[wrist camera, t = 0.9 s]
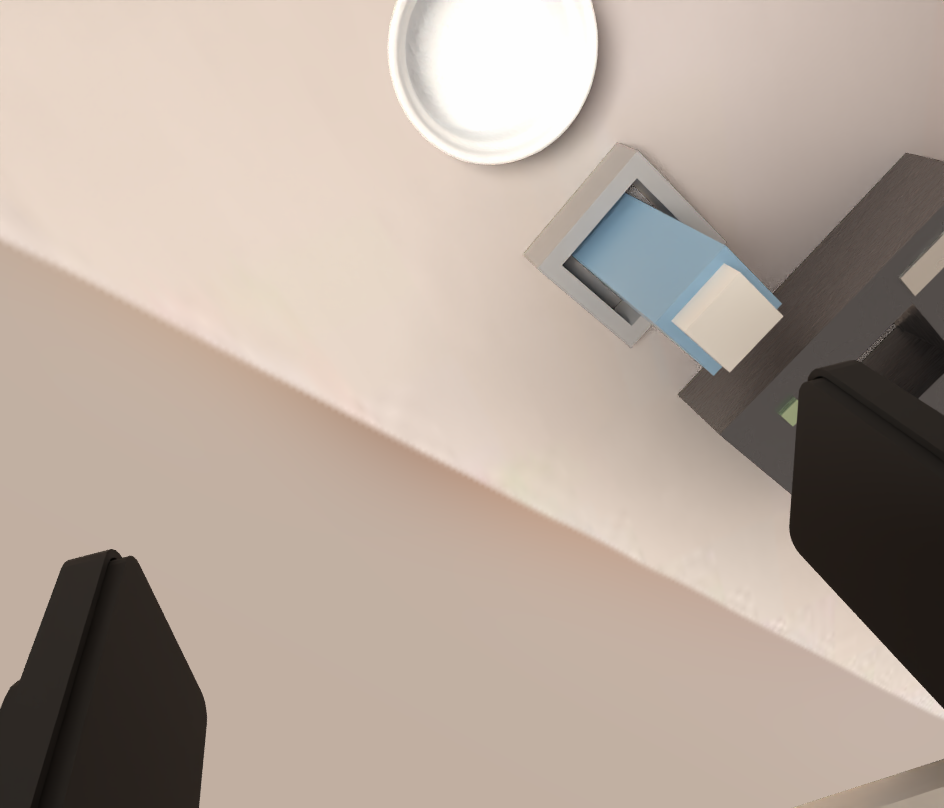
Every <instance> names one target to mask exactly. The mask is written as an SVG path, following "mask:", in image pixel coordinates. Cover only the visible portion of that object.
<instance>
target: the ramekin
mask: <svg viewBox="0 0 944 808" xmlns="http://www.w3.org/2000/svg"><path fill="white" fill-rule="evenodd" d="M388 32H389V35H388V41H387V43H388V64H389V70H390V76H391V80H392V84H393V87H394V90H395V93H396V96H397V99H398V101H399V103H400V105H401V107H402V109H403V111H404V113H405V115H406V116H407V118H408V119H409V121H410V122H411V123H412V125H413V126H414V127H415V128H416V130H417V131H418V132H419V133H420V134H421V135H422V136H423V137H424V138H425V139H426V140H427V141H428V142H429V143H431V144H432V145H433V146H435V147H436V148H437V149H439V150H441V151H442V152H444V153H446V154H448V155H450V156H452V157H454V158H456V159H459V160H462V161H465V162H469V163H474V164H480V165H498V164H505V163H512V162H515V161H518V160H522V159H524V158H527V157H529V156H531V155H534V154H535V153H538V152H539V151H541V150H543V149H544V148H546V147H547V146H549V145H550V144H551V143H552V142H554V141H555V140H556V139H557V138H559V137H560V136H561V135H562V134H563V133H564V132H565V131H566V130H567V129H568V127H569V126H570V125H571V123H572V122H573V121H574V120H575V118H576V117H577V115H578V114H579V112H580V110H581V108H582V107H583V105H584V103H585V101H586V99H587V96H588V94H589V92H590V89H591V86H592V82H593V79H594V75H595V70H596V65H597V57H598V29H597V22H596V17H595V12H594V8H593V4H592V0H397V1H396V3H395V7H394V10H393V13H392V16H391V21H390V25H389V30H388Z"/></svg>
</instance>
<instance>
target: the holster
mask: <svg viewBox="0 0 944 808" xmlns="http://www.w3.org/2000/svg"><path fill="white" fill-rule="evenodd" d="M631 184H633V185H634V186H635V187H636V188H637V189H638V190H639V191H640V192H641V193H642V194H643V195H644V196H645V197H646V198H647V199H648V200H649V201H650V202H651V203H652V204H653V205H654V206H655V207H656V208H657V209H658V210H659V211H661V212H663V213H664V214H666V215H668V216H670V217H672V218H674V219H676V220H678V221H680V222H682V223H684V224H685V225H687V226H689V227H691V228H693V229H695V230H697V231H699V232H701V233H703V234H704V235H706V236H708V237H710V238H712V239H714V240H716V241H718V242H720V243H722V244H724V245H725V244H726V243H727V242H726V241H725V240H724V239H723V238H722V237H721V236H720V235H719V234H718V233H717V232H716V231H715V230H714V228H713V227H712V226H711V225H710V224H709V223H708V222H707V221H706V220H705V219H704V218H703V217H702V216H701V215H700V214H699V213H698V212H697V211H696V210H695V209H694V208H693V207H692V206H691V205H690V204H689V203H688V202H687V201H686V200H685V199H684V197H683V196H682V195H681V194H680V193H679V192H678V191H677V190H676V189H675V188H674V187H673V186H672V185H671V184H670V183H669V182H668V181H667V180H666V179H665V178H664V177H663V176H662V175H661V174H660V173H659V172H658V171H657V170H656V169H655V168H654V167H653V165H652V164H651V163H650V162H649V161H648V160H647V159H646V158H645V157H644V156H643V155H642V154H641V153H640V152H639V151H638V150H635V149H633V148H630V147H628V146H625V145H623V144H620V143H618V142H617V143H616V145H615V146H614V147H613V148H612V149H611V151H610V152H609V153H608V154H607V155H606V156H605V158H604V159H603V160H602V161H601V162H600V164H599V165H598V166H597V167H596V168H595V170H594V171H593V172H592V173H591V174H590V175H589V177H588V178H587V179H586V180H585V181H584V183H583V184H582V185H581V186H580V187H579V189H578V190H577V191H576V192H575V193H574V194H573V196H572V197H571V198H570V199H569V200H568V202H567V203H566V204H565V205H564V206H563V208H562V209H561V210H560V211H559V212H558V213H557V215H556V216H555V217H554V218H553V219H552V221H551V222H550V223H549V224H548V225H547V227H546V228H545V229H544V230H543V231H542V232H541V234H540V235H539V236H538V237H537V238H536V240H535V241H534V242H533V243H532V244H531V246H530V247H529V248H528V249H527V250H526V251H525V253H524V254H523V255H524V256H525V257H526V258H527V259H528V260H529V261H530V262H531V263H532V264H533V265H534V266H535V267H536V268H537V269H538V270H539V271H540V272H542V273H543V274H544V275H545V276H546V277H547V278H549V279H550V280H551V281H552V282H553V283H555V284H556V285H557V286H558V287H559V288H560V289H562V290H563V291H564V292H565V293H566V294H568V295H569V296H570V297H571V298H572V299H574V300H575V301H576V302H577V303H578V304H579V305H581V306H582V307H583V308H584V309H585V310H587V311H588V312H589V313H590V314H591V315H592V316H594V317H595V318H596V319H597V320H598V321H600V322H601V323H602V324H603V325H604V326H605V327H607V328H608V329H609V330H610V331H611V332H613V333H614V334H615V335H616V336H617V337H618V338H620V339H621V340H622V341H623V342H624V343H626V344H627V345H628V346H629V347H630V348H632V346H633V345H634V344H635V343H636V342H637V341H638V340H639V339H640V338H641V337H642V335H643V334H644V333H645V332H646V331H647V330H648V329H649V328H650V327H651V326H652V324H651V323H650V322H648V321H647V320H646V319H645V318H644V317H642V316H641V315H640V314H639V313H638V312H636V311H635V310H634V309H633V308H632V307H630V306H629V305H628V304H627V303H626V302H624V301H623V300H622V301H621V302H620V303H619V304H618V305H617V306H616V307H615V309H614V310H613V309H612V308H611V307H610V306H609V305H607V304H606V303H605V302H604V301H603V300H602V299H600V298H599V297H598V296H597V295H596V294H595V293H594V292H592V291H591V290H590V289H589V288H588V287H587V286H585V285H584V284H583V283H582V282H581V281H580V280H579V279H577V278H576V277H575V276H574V275H573V274H572V273H570V272H569V271H568V270H567V269H566V268H565V267H564V266H562V265H563V264H564V262H565V261H566V260H567V259H568V258H569V257H570V255H571V254H572V253H573V252H574V251H575V250H576V248H577V247H578V246H579V245H580V244H581V243H582V241H583V240H584V239H585V238H586V237H587V236H588V234H589V233H590V232H591V231H592V230H593V229H594V228H595V226H596V225H597V224H598V223H599V222H600V221H601V219H602V218H603V217H604V216H605V215H606V214H607V212H608V211H609V210H610V209H611V208H612V207H613V205H614V204H615V203H616V202H617V201H618V200H619V198H620V197H621V196H622V195H623V194H624V193H625V191H626V190H627V189H628V188H629V187H630V186H631Z"/></svg>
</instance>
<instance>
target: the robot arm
mask: <svg viewBox="0 0 944 808" xmlns="http://www.w3.org/2000/svg"><path fill="white" fill-rule="evenodd" d="M789 529H790V536H791V539H792V542H793V544H794V546H795V548H796V550H797V551H798V552H799V554H800V555H801V556H802V557H803V558H804V559H805V560H806V561H807V562H808V563H809V564H810V565H811V567H812V568H813V569H814V570H815V571H816V572H817V573H818V574H819V575H820V576H821V577H822V578H823V579H824V581H825V582H826V583H827V584H828V585H829V586H830V587H831V588H832V589H833V590H834V591H835V592H836V593H837V595H838V596H839V597H840V598H841V599H842V600H843V601H844V602H845V603H846V604H847V605H848V606H849V607H850V609H851V610H852V611H853V612H854V613H855V614H856V615H857V616H858V617H859V618H860V619H861V620H862V621H863V622H864V624H865V625H866V626H867V627H868V628H869V629H870V630H871V631H872V632H873V633H874V634H875V635H876V636H877V638H878V639H879V640H880V641H881V642H882V643H883V644H884V645H885V646H886V647H887V648H888V649H889V650H890V652H891V653H892V654H893V655H894V656H895V657H896V658H897V659H898V660H899V661H900V662H901V663H902V664H903V666H904V667H905V668H906V669H907V670H908V671H909V672H910V673H911V674H912V675H913V676H914V677H915V678H916V680H917V681H918V682H919V683H920V684H921V685H922V686H923V687H924V688H925V689H926V690H927V691H928V692H929V694H930V695H931V696H932V697H933V698H934V699H935V700H936V701H937V702H938V703H939V704H940V705H941V706H942V708H943V709H944V415H943V414H941V413H940V412H938V411H937V410H935V409H933V408H932V407H930V406H929V405H927V404H926V403H924V402H922V401H921V400H919V399H918V398H916V397H915V396H913V395H911V394H910V393H908V392H907V391H905V390H904V389H902V388H900V387H899V386H897V385H896V384H894V383H893V382H891V381H889V380H888V379H886V378H885V377H883V376H882V375H880V374H878V373H877V372H875V371H874V370H872V369H871V368H869V367H867V366H866V365H864V364H863V363H861V362H859V361H856V360H848V361H844V362H840V363H837V364H833V365H829V366H825V367H821V368H817V369H815V370H813V371H812V372H811V373H810V375H809V377H808V380H807V382H804V383H803V384H802V385H801V387H800V389H799V396H798V410H797V424H796V439H795V453H794V467H793V482H792V496H791V510H790V525H789ZM206 726H207V713H206V705H205V701H204V697H203V695H202V692H201V690H200V688H199V686H198V684H197V682H196V680H195V678H194V676H193V674H192V672H191V670H190V668H189V665H188V663H187V661H186V659H185V657H184V655H183V653H182V651H181V649H180V647H179V645H178V643H177V641H176V639H175V637H174V635H173V632H172V630H171V628H170V626H169V624H168V622H167V620H166V618H165V616H164V614H163V612H162V610H161V608H160V606H159V604H158V602H157V600H156V598H155V596H154V593H153V592H152V589H151V587H150V585H149V583H148V581H147V579H146V577H145V575H144V573H143V571H142V569H141V567H140V565H139V563H138V561H137V560H136V559H135V558H134V557H133V556H128V557H124V558H122V557H121V555H120V554H119V553H118V552H117V551H116V550H113V549H110V550H106V551H102V552H98V553H94V554H90V555H87V556H83V557H79V558H75V559H71V560H68V561H66V562H65V563H64V564H63V566H62V568H61V571H60V573H59V576H58V579H57V582H56V584H55V587H54V589H53V592H52V595H51V598H50V600H49V603H48V606H47V608H46V611H45V614H44V617H43V619H42V622H41V625H40V627H39V631H38V633H37V636H36V638H35V641H34V644H33V646H32V649H31V652H30V654H29V657H28V660H27V663H26V665H25V668H24V671H23V673H22V676H21V679H20V680H19V681H17V682H16V683H15V684H14V685H13V686H11V687H10V690H9V691H8V693H7V695H6V696H5V699H4V701H3V703H2V706H1V709H0V808H199V801H200V790H201V778H202V769H203V758H204V747H205V736H206ZM794 808H944V759H942V760H939V761H936V762H933V763H930V764H927V765H924V766H921V767H917V768H914V769H911V770H908V771H905V772H902V773H899V774H896V775H893V776H889V777H886V778H883V779H880V780H877V781H874V782H871V783H868V784H865V785H861V786H858V787H855V788H853V789H850V790H846V791H843V792H840V793H837V794H834V795H830V796H827V797H824V798H822V799H818V800H815V801H812V802H809V803H806V804H803V805H800V806H797V807H794Z"/></svg>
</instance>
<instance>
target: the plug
mask: <svg viewBox="0 0 944 808" xmlns="http://www.w3.org/2000/svg"><path fill="white" fill-rule="evenodd" d="M571 255H572V256H573V257H574V258H575V259H576V260H577V261H578V262H579V263H581V264H582V265H583V266H584V267H585V268H586V269H587V270H589V271H590V272H591V273H592V274H593V275H594V276H595V277H596V278H598V279H599V280H600V281H601V282H602V283H603V284H604V285H606V286H607V287H608V288H609V289H610V290H611V291H612V292H614V293H615V294H616V295H617V296H618V297H620V298H621V299H622V300H623V301H624V302H626V303H627V304H628V305H629V306H630V307H632V308H633V309H634V310H635V311H636V312H638V313H639V314H640V315H641V316H642V317H644V318H645V319H646V320H647V321H648V322H650V323H651V324H652V325H653V326H654V327H656V328H657V329H658V330H659V331H660V332H662V333H663V334H664V335H665V336H666V337H668V338H669V339H670V340H671V341H672V342H674V343H675V344H676V345H677V346H678V347H680V348H681V349H682V350H683V351H684V352H686V353H687V354H688V355H689V356H690V357H692V358H693V359H694V360H695V361H696V362H698V363H699V364H700V365H701V366H702V367H704V368H705V369H706V370H707V371H708V372H710V373H711V374H712V375H713V376H714V375H715V374H716V373H717V372H718V371H719V370H720V369H721V368H722V367H724V368H725V369H726V370H727V371H729V372H731V371H732V370H733V369H734V368H735V366H736V365H737V364H738V363H739V362H740V361H741V360H742V359H743V358H744V357H745V356H746V355H747V354H748V353H749V352H750V351H751V350H752V349H753V348H754V347H755V346H756V344H757V343H758V342H759V341H760V340H761V339H762V338H763V337H764V336H765V335H766V334H767V333H768V332H769V331H770V330H771V329H772V328H773V327H774V326H775V325H776V324H777V322H778V321H779V320H780V319H781V318H782V317H783V315H782V314H781V313H780V312H779V311H778V310H777V309H778V308H779V307H780V305H781V304H782V303H781V302H780V301H779V300H778V299H777V298H776V297H775V296H774V295H773V294H772V293H771V292H770V291H769V290H768V289H767V288H766V287H765V286H764V285H763V283H762V282H761V281H760V280H759V279H758V278H757V277H756V276H755V275H754V274H753V273H752V272H751V271H750V270H749V269H748V268H747V267H746V266H745V265H744V264H743V263H742V262H741V261H740V260H739V259H738V258H737V257H736V256H735V255H734V254H733V253H732V252H731V251H730V250H729V249H728V247H727V246H725V245H724V244H722V243H720V242H718V241H716V240H714V239H712V238H710V237H708V236H706V235H704V234H703V233H701V232H699V231H697V230H695V229H693V228H691V227H689V226H687V225H685V224H684V223H682V222H680V221H678V220H676V219H674V218H672V217H670V216H668V215H666V214H664V213H663V212H661V211H659V210H657V209H655V208H653V207H651V206H649V205H647V204H645V203H643V202H642V201H640V200H638V199H636V198H634V197H632V196H630V195H628V194H626V193H624V194H623V195H622V196H621V197H620V198H619V200H618V201H617V202H616V203H615V204H614V205H613V207H612V208H611V209H610V210H609V211H608V212H607V214H606V215H605V216H604V217H603V218H602V219H601V221H600V222H599V223H598V224H597V225H596V226H595V228H594V229H593V230H592V231H591V232H590V233H589V234H588V236H587V237H586V238H585V239H584V240H583V241H582V243H581V244H580V245H579V246H578V247H577V248H576V250H575V251H574V252H573V253H572V254H571Z"/></svg>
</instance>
